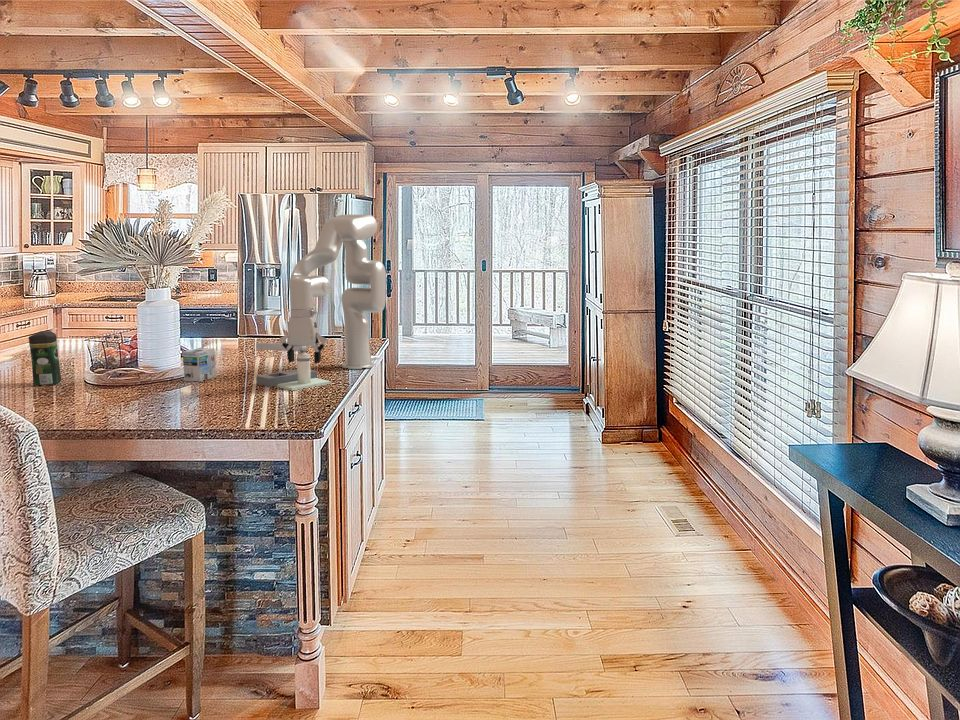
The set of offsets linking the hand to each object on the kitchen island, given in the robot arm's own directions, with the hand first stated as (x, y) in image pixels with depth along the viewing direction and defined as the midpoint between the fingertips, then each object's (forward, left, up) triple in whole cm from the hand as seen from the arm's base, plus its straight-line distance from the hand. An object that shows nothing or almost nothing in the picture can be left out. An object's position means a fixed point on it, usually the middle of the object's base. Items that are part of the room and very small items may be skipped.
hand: (304, 362), depth 251 cm
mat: (0, 0, -8) cm, 8 cm away
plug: (+1, 0, -7) cm, 7 cm away
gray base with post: (0, -10, -8) cm, 13 cm away
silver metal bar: (-2, -17, +2) cm, 18 cm away
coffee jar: (+60, -67, -9) cm, 91 cm away
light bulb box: (+19, -37, -9) cm, 43 cm away
